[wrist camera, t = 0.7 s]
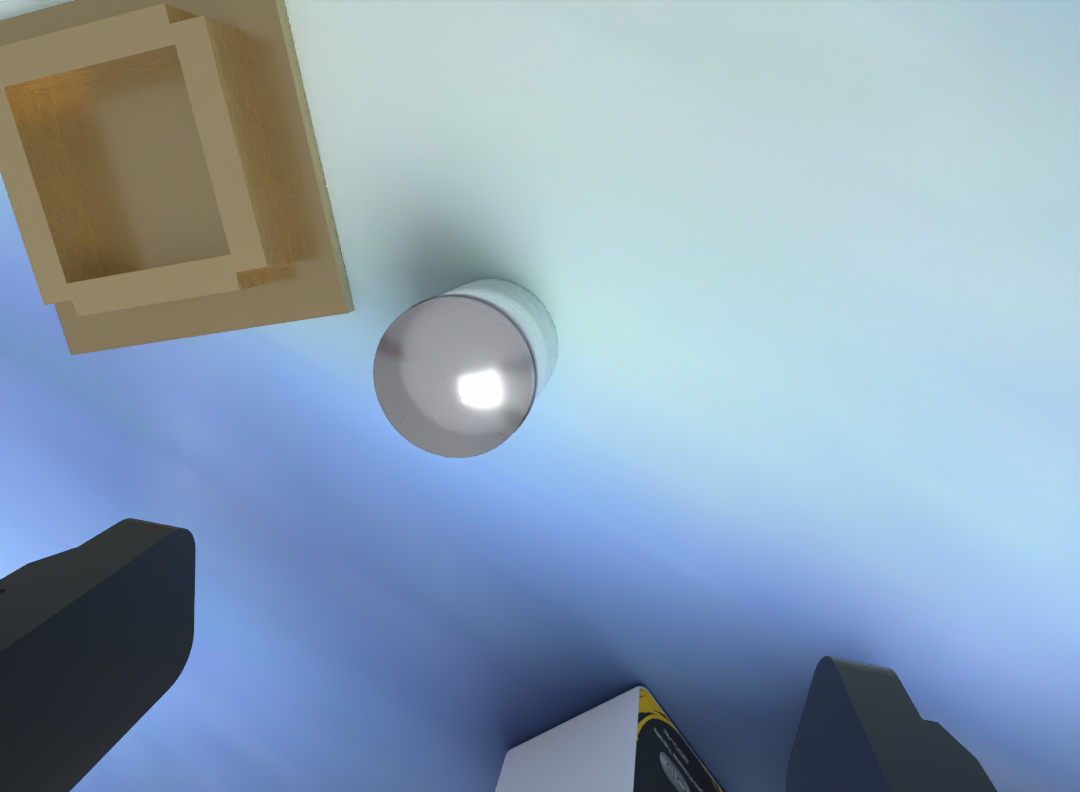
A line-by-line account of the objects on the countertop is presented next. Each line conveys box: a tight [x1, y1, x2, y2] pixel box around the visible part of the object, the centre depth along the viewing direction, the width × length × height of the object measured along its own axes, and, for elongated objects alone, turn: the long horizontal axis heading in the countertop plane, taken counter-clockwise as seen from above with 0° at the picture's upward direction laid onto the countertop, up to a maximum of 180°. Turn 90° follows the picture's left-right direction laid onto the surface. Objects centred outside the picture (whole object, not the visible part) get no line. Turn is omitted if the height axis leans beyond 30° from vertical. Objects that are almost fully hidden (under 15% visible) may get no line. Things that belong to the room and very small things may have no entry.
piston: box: [373, 279, 558, 458], centre depth 24 cm, size 5×5×5 cm
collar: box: [0, 0, 354, 355], centre depth 26 cm, size 12×12×3 cm
